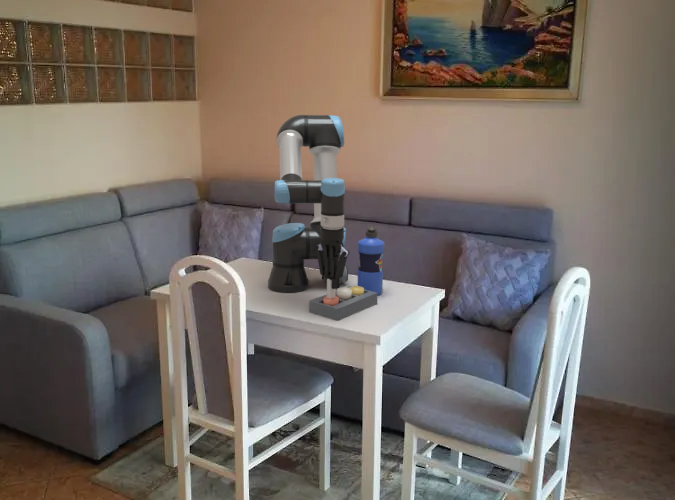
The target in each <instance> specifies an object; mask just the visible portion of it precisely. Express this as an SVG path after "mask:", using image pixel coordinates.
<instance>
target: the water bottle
mask: <svg viewBox="0 0 675 500" xmlns="http://www.w3.org/2000/svg"><path fill="white" fill-rule="evenodd" d="M377 230H378V228H377V226H375V225H374V224H370V225H368V226H367V227H366V231H365V237H364V238H362V239H360V240H359V241H357V251H358V261H359V262H358V268H357V285H356V286H361V287H363V288H364V289H365V290H368V291H372V292H376V293H378V296H377V297H380V296H382V295H383V284H384V283H383V279H384V267H383V259H384V258H383V257H384V254H385V253H384V252H385V241H384V240H381V239H380V238H378V235H379V234H378V233H379V232H378V231H377Z"/></svg>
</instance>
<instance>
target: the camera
mask: <svg viewBox="0 0 675 500" xmlns="http://www.w3.org/2000/svg"><path fill="white" fill-rule="evenodd" d="M348 269H349V268H348V266H347V265H346V264H345V268H344V273H343V277H341V278H338V279H337V288H336V291H337V289H338V288H341V287H340V286H341V285H340V284H342V283H347V282H348V280H349V270H348ZM321 280H322V281H323V282H324V284H325V283H326V282H325V276H323V275H321Z"/></svg>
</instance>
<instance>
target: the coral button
mask: <svg viewBox="0 0 675 500" xmlns="http://www.w3.org/2000/svg"><path fill="white" fill-rule="evenodd" d="M323 304H327V305H330V306H334V305H336V304H339V298H338V297H337V296H335V297H334V298H331V299H329V298H327V296H325V297H324V298H323Z"/></svg>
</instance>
